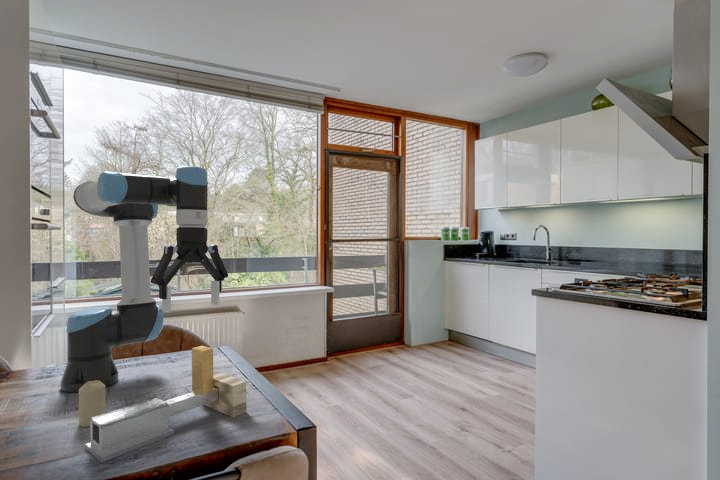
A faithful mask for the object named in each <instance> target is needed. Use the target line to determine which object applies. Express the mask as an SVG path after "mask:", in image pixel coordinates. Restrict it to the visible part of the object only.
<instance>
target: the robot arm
mask: <svg viewBox="0 0 720 480" xmlns="http://www.w3.org/2000/svg"><path fill="white" fill-rule="evenodd" d="M208 187H209V182H208V172H207V170H206V169H205V168H203V167H200V166H191V165H190V166H189V165H183V166H179V167H178V166H177V168H176V174H175V177H168V176H167V177H166V176H159V175H158V176H155V175H144V174H143V175H142V174H134V173H127V172H126V173H123V172H119V171H102V172H101V173H100V174H99V176H98V178H97V181H95V180H88V181H85V182H81V183H80V184H79V185H78V186H76V187H75V189H74V190H73V201H74V203H75V205H76V207H77V208H79V209H80V210H81V211H83V212H84V213H87V214H89V215H93V216H96V217H103V218H104V217H105V218H113V224H114V225H115V226H116V227H117V228H118V230H119V231H118V232H119V233H118V234H119V236H118V237H119V256H120V261H119V262H120V279H121V280H120V282H121V283H120V284H121V286H120V287H121V299H120V300H119V301H118V302H117V303H116V310H113V309H112V307H110V306H99V307H98V306H96V307H91V308H87V309H83V310H79V311H76V312H74V313H72V314H71V315H69V316H68V318H67V324H66V335H67V336H66V339H67V340H66V342H67V344H66V345H67V350H66V351H67V355H66V356H67V361H66V362H67V363H66V365H65V368H64V371H63V375H62V377H61V380H60V390H61V392H64V393H79V389H80V388H81V387H82V386H83V385H84V384H86V383H87V382H88V381H95V380H98V381H100V382H102V383H103V384H104V385H105V388H107V387H110V386H111V385H115V383H117V382H118V381H119V371H118V368H117V366H116V363H115V360H114V359H113V353H112V351H113V348H114V347H119V346H126V345H131V344H136V343H137V344H138V343H145V342H149V341H152V340H156V338H158V337H159V335H160V334H161V332H162V329H163V323H164V313H167V314H168V313H169V314H170V313H171V312H172V286H171V285H169V284H170V282H171V281H172V280H173V278H174V277H175V276H176V274H178V272H179V271H180V270H181V268H182V267H183V266H184V265H185V264H190V263H191V264H192V263H200V264H201V265H202V266H203V267H204V269H205V270H206V271H207V273H208V274H209V275H210V277H212V280H211V281H210V283H211V285H210V289H211V291H210V293H211V294H210V299H211V300H210V301H211V302H210V304H211V305H214V306H219V305H220V293H221V292H222V288H223V287H222V286H223V285H222V283H223V281H224V280H225V278H226V279H227V278H228V277H229V273H228V270H227V269H226V267H225V264H224V262H223V259H222V257H221V255H220V254H219V253H220V252H219V246H218V245H217V244H209V245H208V244H207V243H208V228H207V227H206V226H208V193H209V191H208V189H209V188H208ZM159 206H169V207H175V209H176V211H175V213H176V214H175V215H176V216H175V220H176V222H175V225H176V226H178V227H177V228H176V229H175V230H176V231H175V234H176V236H175V237H176V240H175V241H176V246H173V245H165V246H164V247H163V252H162V253H163V254H162V256H161V258H160V261H159V262H158V265H157V267H156V269H155V271H154V273H153V275H152V277H151V275H150V274H151V273H150V272H151V271H150V255H149V254H150V253H149V251H150V249H149V231H148V228H149V227H150V225H151V224H152V223H153V219H155V218H156V217H158V213H159ZM207 253H209V256H210V257H208V256H207ZM175 254H177V256H176V257H175V259H174V261H173V262H172V263H170V262H171V261H172V258H173V256H174V255H175ZM210 258H211V260H212V262H213V263H212V262H211V260H210ZM170 264H171V265H170ZM169 265H170V266H169ZM168 267H169V268H168ZM151 284H154V285H157V286H158V297H159V299H160V300H162V301H161V302H162V303H161V305H162V306H160V305H158V304H157V302H156V301H157V300H156V299H154V297H152V295H151Z"/></svg>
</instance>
